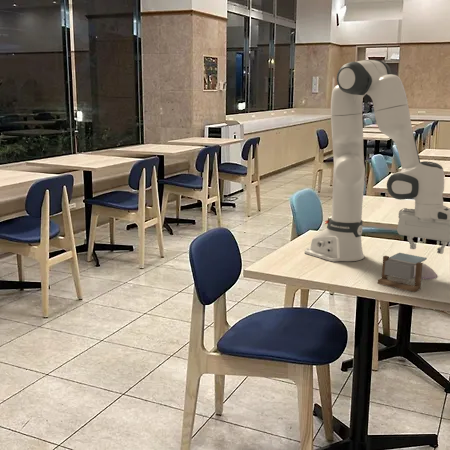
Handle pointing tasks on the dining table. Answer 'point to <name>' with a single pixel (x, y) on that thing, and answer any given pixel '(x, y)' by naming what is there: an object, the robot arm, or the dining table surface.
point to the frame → (400, 285)
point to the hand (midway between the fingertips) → (426, 251)
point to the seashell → (426, 272)
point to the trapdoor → (402, 265)
